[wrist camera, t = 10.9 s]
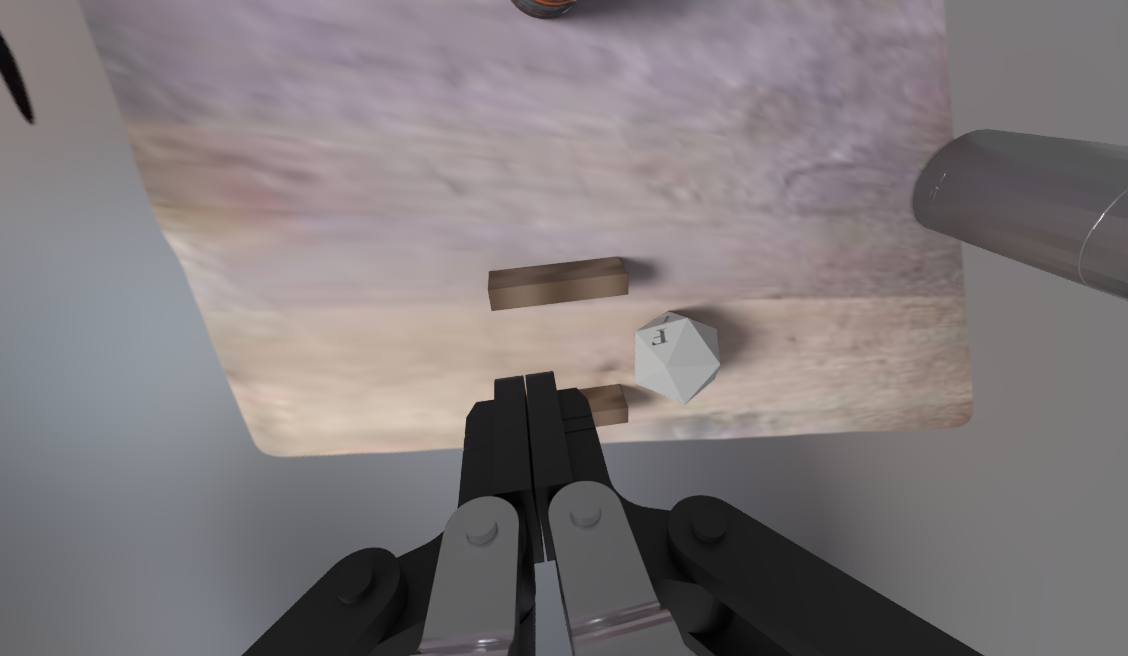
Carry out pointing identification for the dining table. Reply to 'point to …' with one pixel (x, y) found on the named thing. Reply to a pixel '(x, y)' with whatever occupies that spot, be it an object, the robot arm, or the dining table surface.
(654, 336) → the die
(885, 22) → the dining table surface
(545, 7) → the supplement bottle
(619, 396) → the pair of wooden rails
